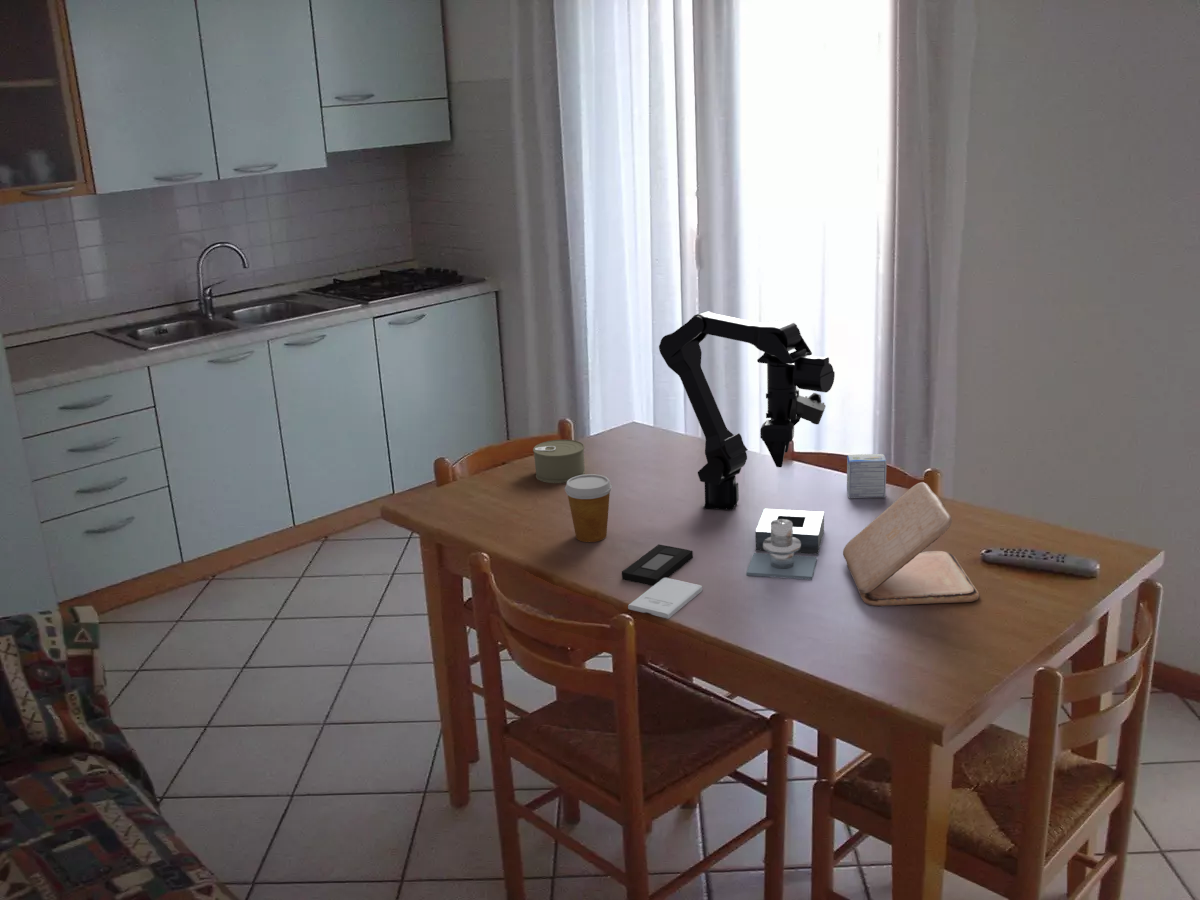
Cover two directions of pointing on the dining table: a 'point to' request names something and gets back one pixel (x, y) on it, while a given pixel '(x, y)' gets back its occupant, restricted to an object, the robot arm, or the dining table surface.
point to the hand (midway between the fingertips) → (782, 459)
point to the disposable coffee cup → (589, 505)
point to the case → (907, 555)
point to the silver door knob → (782, 544)
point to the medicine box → (866, 476)
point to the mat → (799, 571)
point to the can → (559, 460)
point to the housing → (794, 528)
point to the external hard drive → (665, 597)
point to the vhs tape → (657, 565)
